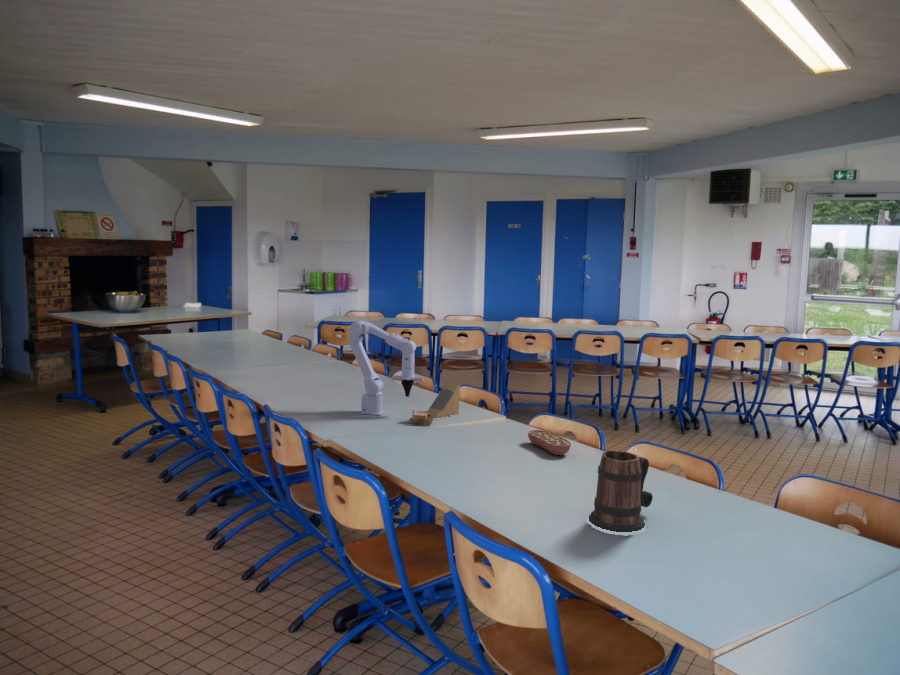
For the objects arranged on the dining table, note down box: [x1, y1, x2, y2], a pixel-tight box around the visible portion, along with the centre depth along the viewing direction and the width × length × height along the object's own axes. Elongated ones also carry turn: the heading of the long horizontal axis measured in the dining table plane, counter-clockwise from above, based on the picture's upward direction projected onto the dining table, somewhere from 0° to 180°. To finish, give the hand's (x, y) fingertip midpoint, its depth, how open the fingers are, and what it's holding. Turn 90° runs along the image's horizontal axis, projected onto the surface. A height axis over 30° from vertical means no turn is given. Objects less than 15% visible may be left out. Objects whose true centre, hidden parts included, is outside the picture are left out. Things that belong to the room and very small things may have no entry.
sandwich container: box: [425, 380, 461, 419], centre depth 302 cm, size 9×15×15 cm, turn 136°
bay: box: [409, 414, 434, 426], centre depth 288 cm, size 9×10×3 cm
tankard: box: [588, 450, 653, 532], centre depth 184 cm, size 24×17×20 cm
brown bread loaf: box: [527, 429, 572, 456], centre depth 252 cm, size 23×10×5 cm, turn 24°
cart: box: [411, 406, 428, 419], centre depth 288 cm, size 6×6×6 cm
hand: (407, 396), depth 298 cm, fingers closed
